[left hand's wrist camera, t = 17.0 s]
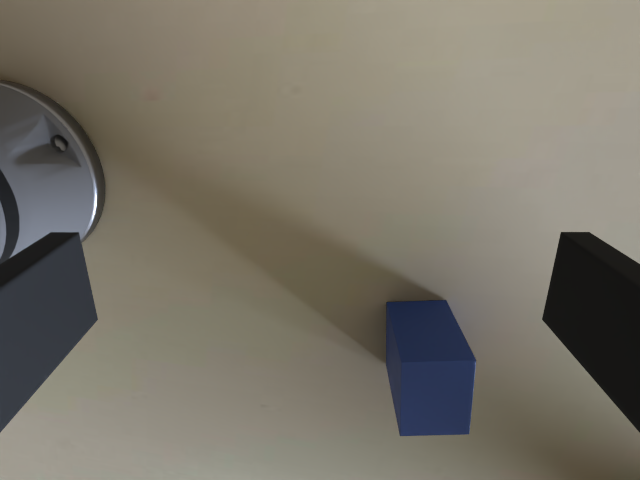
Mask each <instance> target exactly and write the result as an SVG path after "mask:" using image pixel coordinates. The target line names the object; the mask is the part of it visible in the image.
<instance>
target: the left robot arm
mask: <svg viewBox="0 0 640 480" xmlns="http://www.w3.org/2000/svg"><path fill="white" fill-rule="evenodd" d="M104 199H105V182H104V175H103V170H102V166H101V163H100V160H99V157H98V155H97V153H96V150H95V148H94V146H93V144H92V143H91V141H90V139H89V138H88V136H87V134H86V133H85V132H84V130H83V129H82V128H81V126H80V125H79V124H78V123H77V122H76V120H75V119H74V118H73V117H72V116H71V115H70V114H69V113H68V112H67V111H66V110H65V109H63V108H62V107H61V106H60V105H58V104H57V103H56V102H54V101H53V100H51V99H50V98H48V97H47V96H45V95H43V94H42V93H40V92H38V91H36V90H34V89H31V88H29V87H26V86H24V85H21V84H17V83H14V82H10V81H4V80H0V432H1V431H2V430H3V429H4V428H5V426H6V425H7V424H8V423H9V422H10V421H11V419H12V418H13V417H14V416H15V415H16V414H17V412H18V411H19V410H20V409H21V408H22V407H23V406H24V404H25V403H26V402H27V401H28V400H29V399H30V397H31V396H32V395H33V394H34V393H35V392H36V390H37V389H38V388H39V387H40V386H41V385H42V384H43V382H44V381H45V380H46V379H47V378H48V377H49V375H50V374H51V373H52V372H53V371H54V370H55V368H56V367H57V366H58V365H59V364H60V363H61V362H62V360H63V359H64V358H65V357H66V356H67V355H68V353H69V352H70V351H71V350H72V349H73V348H74V346H75V345H76V344H77V343H78V342H79V341H80V340H81V338H82V337H83V336H84V335H85V334H86V333H87V331H88V330H89V329H90V328H91V327H92V326H93V324H94V323H95V322H96V321H97V320H98V318H97V314H96V309H95V304H94V300H93V295H92V290H91V286H90V281H89V276H88V272H87V267H86V263H85V258H84V253H83V249H82V244H81V242H83V241H84V240H85V239H86V238H87V237H88V236H89V235H90V234H91V232H92V231H93V230H94V228H95V226H96V225H97V223H98V221H99V219H100V216H101V213H102V210H103V206H104ZM542 320H543V321H544V322H545V323H546V324H547V326H548V327H549V328H550V329H551V330H552V331H553V333H554V334H555V335H556V336H557V337H558V338H559V340H560V341H561V342H562V343H563V344H564V345H565V346H566V348H567V349H568V350H569V351H570V352H571V353H572V355H573V356H574V357H575V358H576V359H577V360H578V362H579V363H580V364H581V365H582V366H583V367H584V368H585V370H586V371H587V372H588V373H589V374H590V375H591V377H592V378H593V379H594V380H595V381H596V382H597V384H598V385H599V386H600V387H601V388H602V389H603V390H604V392H605V393H606V394H607V395H608V396H609V397H610V399H611V400H612V401H613V402H614V403H615V404H616V406H617V407H618V408H619V409H620V410H621V411H622V412H623V414H624V415H625V416H626V417H627V418H628V419H629V421H630V422H631V423H632V424H633V425H634V426H635V428H636V429H637V430H638V431H639V432H640V264H639V263H637V262H636V261H634V260H632V259H631V258H629V257H628V256H626V255H624V254H623V253H621V252H620V251H618V250H617V249H615V248H613V247H612V246H610V245H609V244H607V243H605V242H604V241H602V240H601V239H599V238H598V237H596V236H594V235H593V234H591V233H590V232H561V235H560V239H559V244H558V249H557V253H556V258H555V263H554V267H553V272H552V276H551V281H550V286H549V290H548V295H547V300H546V304H545V309H544V314H543V318H542Z"/></svg>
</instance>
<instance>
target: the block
mask: <svg viewBox="0 0 640 480" xmlns="http://www.w3.org/2000/svg"><path fill="white" fill-rule="evenodd" d="M386 367H387V372H388V377H389V382H390V387H391V392H392V398H393V403H394V408H395V413H396V418H397V423H398V428H399V434H400V436H419V435H460V434H469V432H470V421H471V410H472V400H473V389H474V378H475V368H476V359H475V357H474V355H473V353H472V351H471V349H470V347H469V345H468V343H467V341H466V339H465V337H464V335H463V333H462V331H461V329H460V327H459V325H458V323H457V321H456V319H455V317H454V315H453V313H452V311H451V309H450V307H449V305H448V303H447V301H446V300H435V301H406V302H387V307H386Z"/></svg>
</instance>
